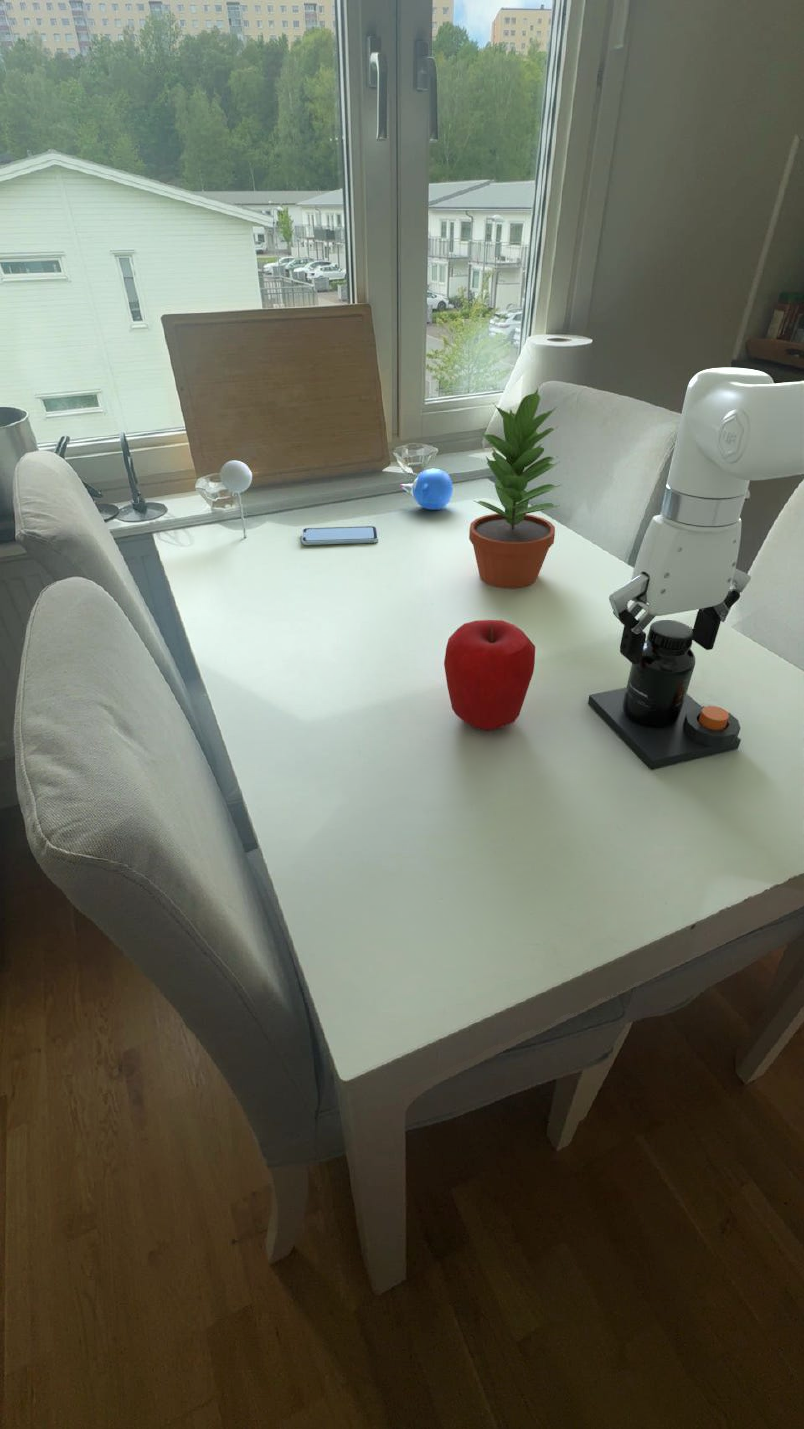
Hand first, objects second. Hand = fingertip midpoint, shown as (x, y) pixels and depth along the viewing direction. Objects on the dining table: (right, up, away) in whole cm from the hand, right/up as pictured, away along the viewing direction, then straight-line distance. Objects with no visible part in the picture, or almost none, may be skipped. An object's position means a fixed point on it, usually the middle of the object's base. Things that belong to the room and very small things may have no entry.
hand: (665, 651), depth 79 cm
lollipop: (-62, +28, +59) cm, 90 cm away
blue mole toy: (-26, +38, +71) cm, 85 cm away
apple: (-20, -8, +7) cm, 23 cm away
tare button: (+6, -8, +1) cm, 10 cm away
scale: (+1, -9, +6) cm, 10 cm away
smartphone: (-43, +28, +57) cm, 77 cm away
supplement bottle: (0, -7, +5) cm, 9 cm away
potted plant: (-12, +17, +42) cm, 46 cm away
